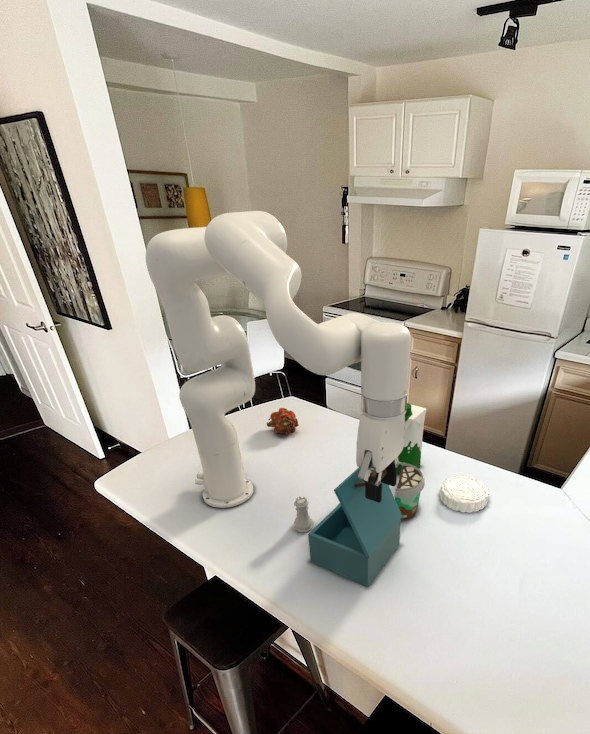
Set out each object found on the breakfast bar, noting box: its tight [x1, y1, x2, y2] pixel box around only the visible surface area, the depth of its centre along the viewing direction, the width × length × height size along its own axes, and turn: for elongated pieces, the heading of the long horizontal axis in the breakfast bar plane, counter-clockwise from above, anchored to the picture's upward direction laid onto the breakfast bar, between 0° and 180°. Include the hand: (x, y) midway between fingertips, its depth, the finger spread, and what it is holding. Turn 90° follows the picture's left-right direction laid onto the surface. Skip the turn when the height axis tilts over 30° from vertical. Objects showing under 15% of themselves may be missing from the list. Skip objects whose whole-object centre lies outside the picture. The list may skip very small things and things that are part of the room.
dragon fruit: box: [266, 407, 300, 436], centre depth 140 cm, size 8×8×12 cm
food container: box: [394, 463, 426, 521], centre depth 106 cm, size 12×6×10 cm, turn 168°
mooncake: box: [439, 475, 490, 514], centre depth 112 cm, size 12×12×4 cm
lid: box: [333, 464, 403, 557], centre depth 85 cm, size 15×14×5 cm
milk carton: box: [395, 402, 427, 476], centre depth 119 cm, size 9×9×20 cm
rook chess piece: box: [293, 496, 314, 533], centre depth 101 cm, size 4×4×8 cm
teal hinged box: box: [307, 503, 402, 588], centre depth 94 cm, size 14×14×8 cm
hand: (381, 490), depth 83 cm, fingers closed on lid, 5 cm apart
